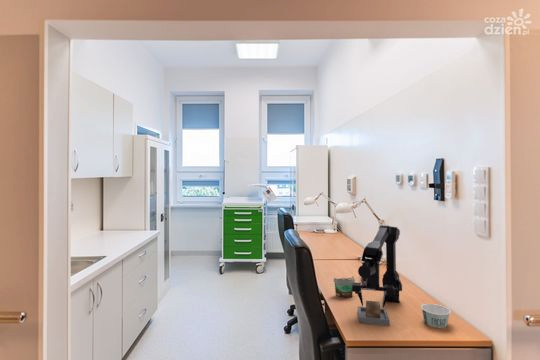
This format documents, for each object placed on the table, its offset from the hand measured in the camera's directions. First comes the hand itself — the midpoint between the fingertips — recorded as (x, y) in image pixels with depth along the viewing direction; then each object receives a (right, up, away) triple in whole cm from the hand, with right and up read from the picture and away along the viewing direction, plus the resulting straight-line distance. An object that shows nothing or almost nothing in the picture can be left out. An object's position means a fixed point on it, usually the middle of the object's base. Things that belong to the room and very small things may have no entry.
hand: (372, 306), depth 150 cm
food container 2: (+27, -6, -5) cm, 28 cm away
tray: (0, -5, 0) cm, 5 cm away
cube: (0, -5, 0) cm, 5 cm away
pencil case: (+14, -5, +51) cm, 53 cm away
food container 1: (-6, -5, +27) cm, 28 cm away
